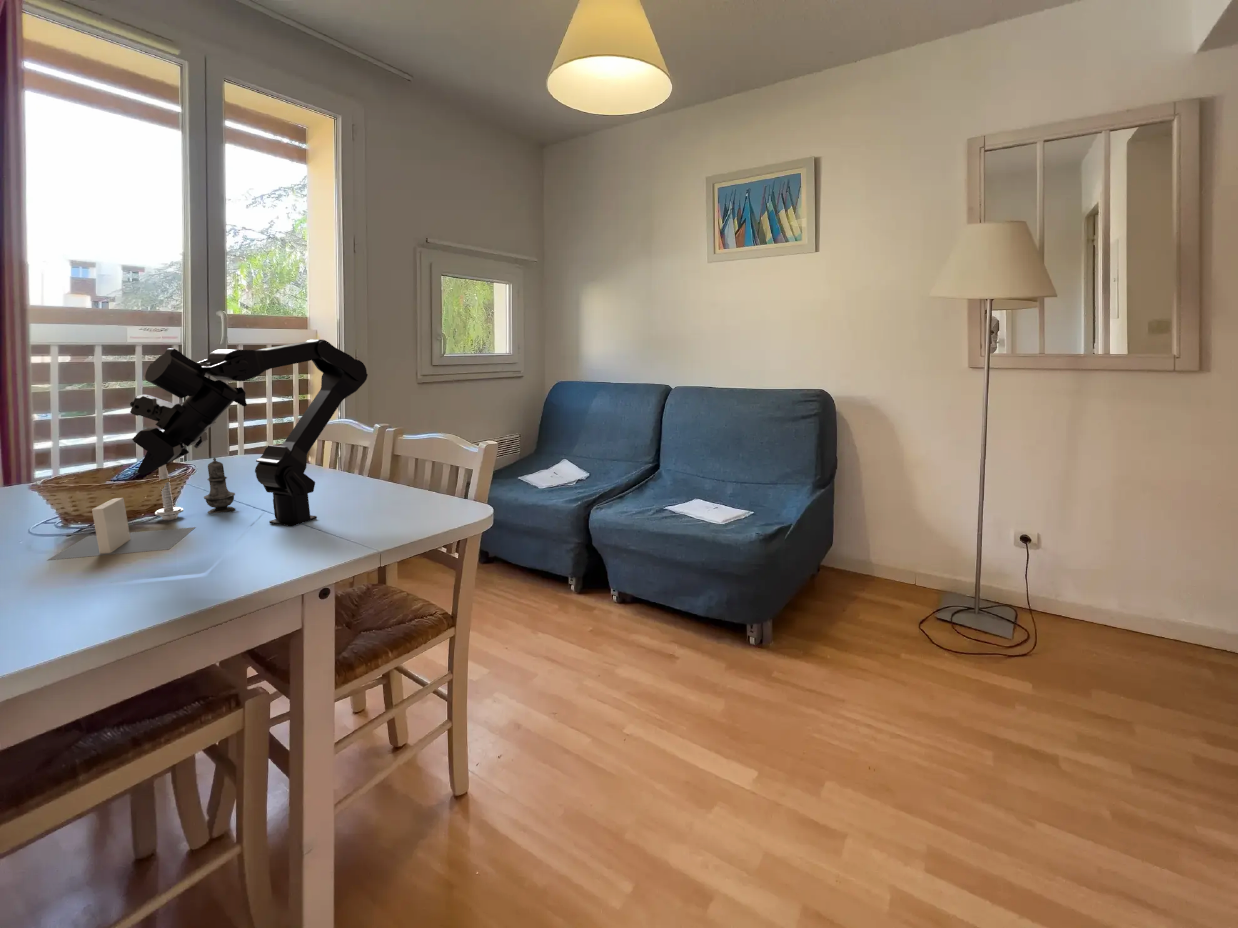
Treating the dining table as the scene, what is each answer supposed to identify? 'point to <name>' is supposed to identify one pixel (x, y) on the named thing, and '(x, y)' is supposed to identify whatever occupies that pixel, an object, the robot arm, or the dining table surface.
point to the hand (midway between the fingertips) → (140, 473)
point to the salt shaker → (218, 489)
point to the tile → (111, 525)
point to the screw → (167, 499)
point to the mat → (127, 543)
